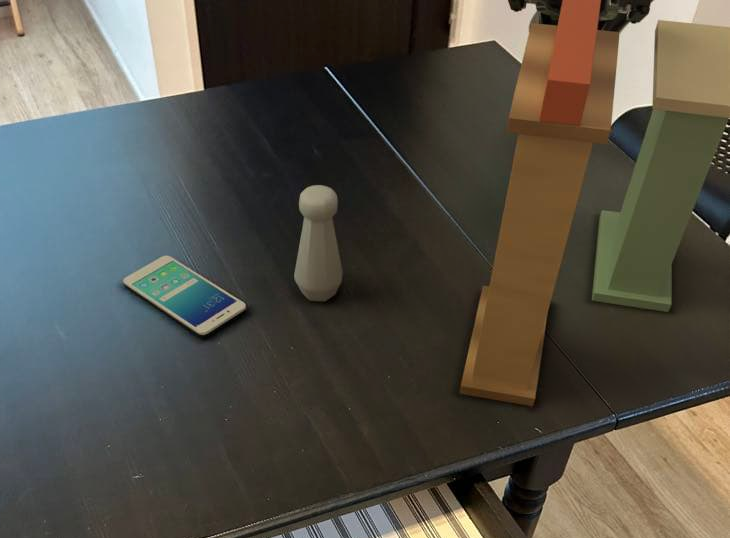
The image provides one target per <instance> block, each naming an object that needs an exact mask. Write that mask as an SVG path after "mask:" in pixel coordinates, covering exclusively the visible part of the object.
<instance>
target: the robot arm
mask: <svg viewBox="0 0 730 538" xmlns="http://www.w3.org/2000/svg"><path fill="white" fill-rule="evenodd" d="M562 1H563V0H507V2H508V5H509V8H510V10H511V11H513V12H514V13H519V12H522V11H523V10H525V9H526V8H527V4H530V5H535V10H536V11H535V12H534V14H533V16H532V17H531V19H530V21H529V24H528V32H529V31H530V27H531V23H536V24H545V25H555V26H558V21H559V16H560V11H561V6H562ZM654 1H655V0H601V5H600V12H599V20H598V28H597V30H602V31H612V32H620V34H621V33H622V32H623V31H624V30H625V28H626V27H627V26H628V25H629V24H633V25H637V24H639V23H641V22H642V21H643V20H644V19H645V18H646V17H647V16H648V15H649V14H650V11H651V4H652V3H653V2H654Z"/></svg>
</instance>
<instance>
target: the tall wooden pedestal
mask: <svg viewBox="0 0 730 538" xmlns="http://www.w3.org/2000/svg"><path fill="white" fill-rule="evenodd" d="M556 31H557V26H555V25H545V24H536V23H531V27H530V31H529V30H528V36H527V40H526V43H525V48H524V52H523V56H522V61H521V65H520V69H519V73H518V78H517V82H516V86H515V90H514V94H513V98H512V102H511V106H510V110H509V115H508V120H507V126H506V130H505V131H506V133H510V134H517V140H516V145H515V151H514V155H513V162H512V167H511V172H510V177H509V182H508V186H507V187H508V188H507V192H506V197H505V203H504V207H503V208H504V209H503V214H502V219H501V224H500V228H499V229H500V230H499V233H498V240H497V245H496V250H495V255H494V260H493V265H492V271H491V276H490V282H489V285H482V287H481V294H480V298H479V302H478V307H477V310H476V316H475V320H474V324H473V329H472V334H471V337H470V343H469V346H468V351H467V356H466V362H465V364H464V368H463V369H464V370H463V374H462V378H461V383H460V388H459V395H463V396H464V395H465V396H470V397H476V398H482V399H489V400H493V401H499V402H504V403H505V402H506V403H511V404H515V405H516V404H517V405H521V406H528V407H534V404H535V401H536V397H537V389H538V383H539V377H540V376H539V375H540V369H541V361H542V354H543V347H544V340H545V333H546V326H547V319H548V313H549V309H550V305H551V303H552V298H553V294H554V290H555V288H556V287H555V286H556V283H557V279H558V275H559V272H560V268H561V264H562V262H563V261H562V260H563V256H564V253H565V249H566V246H567V242H568V238H569V235H570V230H571V228H572V223H573V219H574V216H575V212H576V210H577V209H576V208H577V204H578V201H579V197H580V193H581V190H582V186H583V183H584V178H585V176H586V172H587V167H588V164H589V160H590V156H591V152H592V148H593V145H594V144H598V145H604V146H606V145H607V144H608V142H609V138H610V136H611V132H612V123H613V111H614V100H615V90H616V89H615V88H616V78H617V68H618V57H619V45H620V44H619V43H620V35H621V33H620V32H612V31H602V30H597V36H596V44H595V51H594V59H593V67H592V75H591V82H590V87H589V91H588V95H587V99H586V103H585V107H584V111H583V115H582V119H581V123H580V126H577V125H569V124H561V123H552V122H544V121H539V119H540V113H541V108H542V103H543V98H544V93H545V88H546V83H547V77H548V72H549V67H550V62H551V57H552V52H553V47H554V42H555V36H556Z"/></svg>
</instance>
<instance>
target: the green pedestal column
mask: <svg viewBox="0 0 730 538" xmlns="http://www.w3.org/2000/svg"><path fill="white" fill-rule="evenodd" d="M653 44H654V46H653V72H652V73H653V76H652V77H653V79H652V106H651V108H652V111H651V115H650V118H649V120H648V123H647V128H646V129H645V130H646V131H645V133H644V136H643V140H642V143H641V146H640V149H639V152H638V156H637V159H636V162H635V164H634V165H635V166H634V168H633V172H632V174H631V178H630V181H629V184H628V187H627V191H626V193H625V197H624V199H623V203H622V206H621V210H620V211H619V212H618V211H612V210H606V209H605V210H604V209H602V210H600V211H601V212H600V215H599V219H598V220H599V221H598V230H597V241H596V251H595V252H596V253H595V262H594V271H593V272H594V273H593V281H592V292H591V293H592V294H591V301H592V302H598V303H604V304H611V305H619V306H624V307H625V306H626V307H631V308H637V309H644V310H650V311H656V312H664V313H669V312H670V309H671V307H672V304H673V303H672V302H673V301H672V296H673V295H672V292H673V291H672V290H673V289H672V285H673V282H672V281H673V280H672V278H673V277H672V275H673V274H672V271H673V270H672V269H673V268H672V267H673V266H672V265H673V262H674V259H675V256H676V254H677V252H678V249H679V247H680V244H681V241H682V239H683V236H684V234H685V232H686V229H687V226H688V224H689V221H690V218H691V216H692V213H693V211H694V208H695V206H696V203H697V201H698V197H699V196H700V194H701V190H702V188H703V185H704V183H705V181H706V178H707V176H708V172H709V170H710V168H711V165H712V164H713V163H712V162H713V160H714V158H715V155H716V153H717V150H718V147H719V145H720V142H721V140H722V137H723V135H724V132H725V129H726V127H727V125H728V122H729V120H730V26H721V25H713V24H703V23H694V22H693V23H691V22H683V21H674V20H673V21H672V20H665V19H664V20H663V19H658V20H657V23H656V26H655V29H654V43H653Z"/></svg>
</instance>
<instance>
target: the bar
mask: <svg viewBox="0 0 730 538" xmlns="http://www.w3.org/2000/svg"><path fill="white" fill-rule="evenodd" d="M600 5H601V0H563V1H562V6H561V11H560V16H559V21H558V26H557V31H556V36H555V42H554V47H553V52H552V57H551V62H550V67H549V72H548V77H547V83H546V88H545V93H544V98H543V103H542V108H541V113H540V119H539V121H544V122H552V123H561V124H569V125H577V126H580V123H581V119H582V115H583V111H584V107H585V103H586V99H587V95H588V91H589V87H590V82H591V75H592V67H593V59H594V51H595V44H596V36H597V28H598V20H599V12H600Z"/></svg>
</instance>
